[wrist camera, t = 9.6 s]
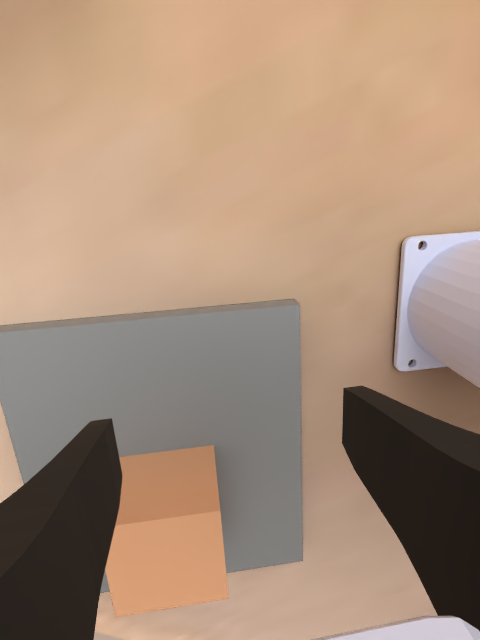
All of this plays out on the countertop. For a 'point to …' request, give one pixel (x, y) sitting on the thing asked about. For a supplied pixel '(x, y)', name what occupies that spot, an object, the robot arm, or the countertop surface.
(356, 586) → the countertop surface
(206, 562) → the peach orange cube
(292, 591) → the countertop surface
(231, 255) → the countertop surface
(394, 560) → the countertop surface
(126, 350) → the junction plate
